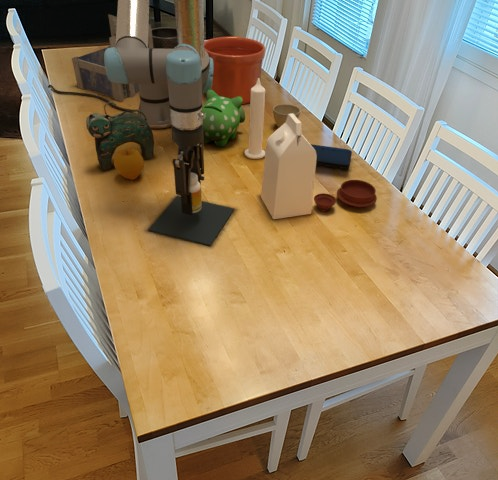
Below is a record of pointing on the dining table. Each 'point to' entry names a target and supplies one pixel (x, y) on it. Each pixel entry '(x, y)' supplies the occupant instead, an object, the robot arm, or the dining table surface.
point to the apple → (129, 163)
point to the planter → (164, 38)
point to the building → (103, 70)
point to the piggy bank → (221, 118)
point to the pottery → (349, 195)
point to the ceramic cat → (119, 134)
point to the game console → (332, 157)
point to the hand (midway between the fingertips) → (191, 207)
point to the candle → (256, 122)
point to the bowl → (284, 113)
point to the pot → (235, 65)
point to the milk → (288, 171)
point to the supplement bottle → (195, 193)
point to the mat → (192, 222)
